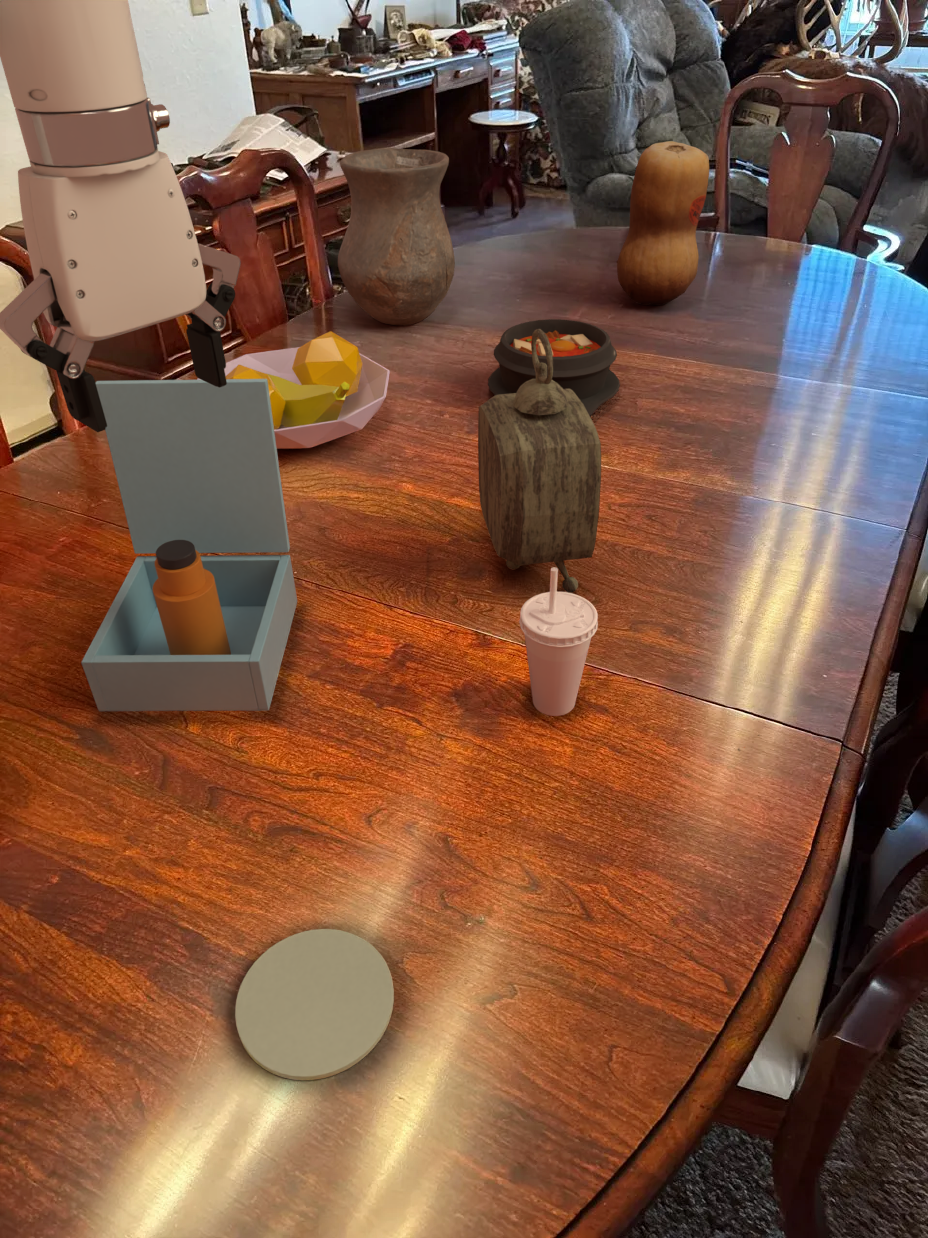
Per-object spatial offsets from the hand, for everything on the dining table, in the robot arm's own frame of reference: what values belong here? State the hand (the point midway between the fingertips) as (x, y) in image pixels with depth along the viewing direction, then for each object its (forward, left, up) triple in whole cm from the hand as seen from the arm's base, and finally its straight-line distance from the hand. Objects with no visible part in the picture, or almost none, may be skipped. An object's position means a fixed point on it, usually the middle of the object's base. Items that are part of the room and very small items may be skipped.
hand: (154, 402), depth 66 cm
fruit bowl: (-1, +52, -28) cm, 59 cm away
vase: (+10, +94, -28) cm, 98 cm away
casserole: (+34, +62, -28) cm, 76 cm away
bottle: (-2, +3, -27) cm, 27 cm away
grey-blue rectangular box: (-2, +4, -28) cm, 28 cm away
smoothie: (+30, -2, -28) cm, 41 cm away
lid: (-2, +12, -12) cm, 18 cm away
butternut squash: (+54, +100, -28) cm, 117 cm away
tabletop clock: (+29, +19, -28) cm, 44 cm away
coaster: (+13, -30, -28) cm, 43 cm away
